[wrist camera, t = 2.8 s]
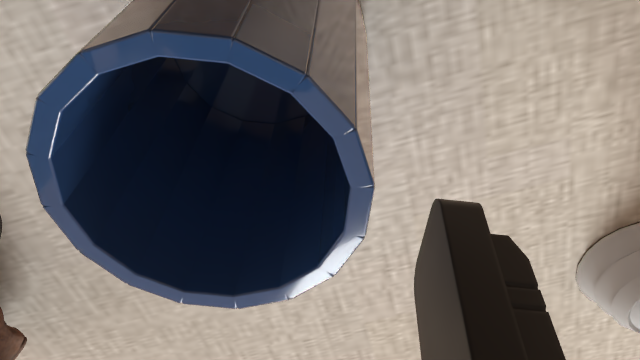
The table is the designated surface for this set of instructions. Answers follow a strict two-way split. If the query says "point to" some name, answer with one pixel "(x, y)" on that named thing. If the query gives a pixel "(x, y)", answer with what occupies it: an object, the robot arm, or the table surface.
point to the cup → (212, 147)
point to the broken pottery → (10, 340)
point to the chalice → (614, 276)
